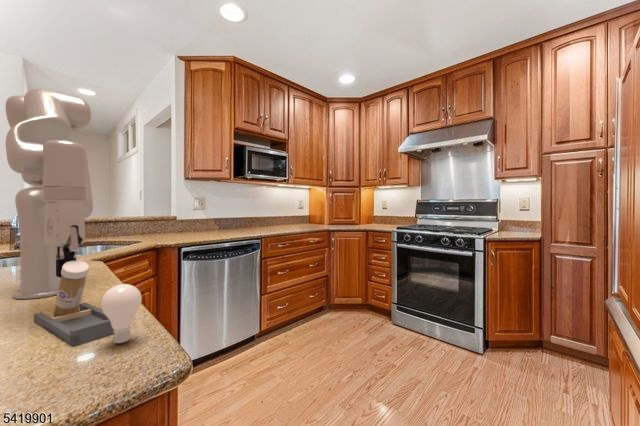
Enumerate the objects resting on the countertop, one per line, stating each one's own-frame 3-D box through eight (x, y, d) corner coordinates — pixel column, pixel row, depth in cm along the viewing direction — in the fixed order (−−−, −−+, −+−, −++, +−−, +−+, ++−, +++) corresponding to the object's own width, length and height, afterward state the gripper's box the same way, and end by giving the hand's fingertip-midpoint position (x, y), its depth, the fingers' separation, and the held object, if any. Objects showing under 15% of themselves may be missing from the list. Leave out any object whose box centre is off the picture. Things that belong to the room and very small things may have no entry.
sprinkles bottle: (47, 317, 64) (56, 268, 61) (61, 304, 68) (71, 257, 65) (70, 323, 65) (81, 274, 62) (83, 309, 70) (94, 263, 66)
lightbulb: (121, 352, 51) (121, 289, 51) (91, 349, 52) (91, 288, 52) (149, 337, 57) (149, 281, 57) (122, 334, 58) (122, 279, 58)
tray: (33, 321, 65) (33, 309, 65) (85, 309, 73) (85, 298, 73) (72, 346, 53) (72, 331, 53) (128, 328, 61) (128, 315, 61)
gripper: (32, 196, 67) (33, 275, 68) (56, 194, 59) (56, 283, 60) (73, 197, 74) (74, 269, 74) (99, 195, 66) (99, 276, 66)
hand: (66, 275), depth 67 cm, fingers closed
